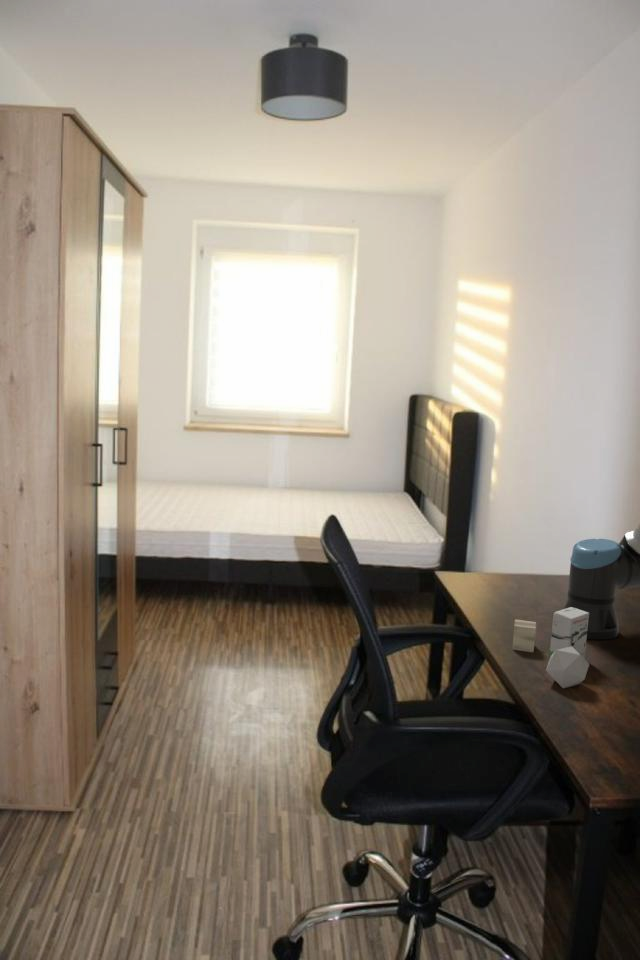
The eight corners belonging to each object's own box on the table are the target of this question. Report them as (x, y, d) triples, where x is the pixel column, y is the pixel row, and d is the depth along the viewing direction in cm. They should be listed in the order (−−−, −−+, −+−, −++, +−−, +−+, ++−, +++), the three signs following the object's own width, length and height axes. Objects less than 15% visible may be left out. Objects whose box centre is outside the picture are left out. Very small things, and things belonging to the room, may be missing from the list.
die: (565, 676, 186) (543, 642, 185) (600, 667, 181) (577, 633, 179) (557, 700, 180) (534, 666, 178) (593, 692, 175) (569, 657, 173)
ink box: (566, 668, 189) (572, 618, 187) (547, 661, 193) (552, 612, 191) (585, 659, 195) (590, 611, 193) (566, 653, 199) (571, 605, 197)
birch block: (512, 642, 204) (515, 619, 203) (533, 645, 203) (536, 622, 202) (512, 649, 199) (514, 625, 198) (533, 652, 198) (535, 628, 197)
